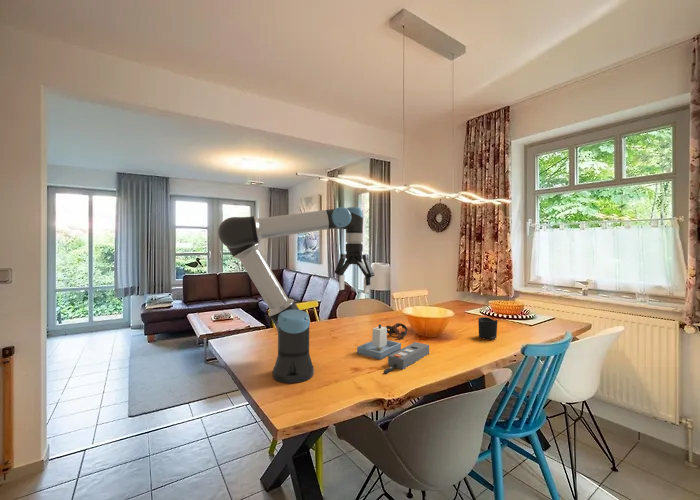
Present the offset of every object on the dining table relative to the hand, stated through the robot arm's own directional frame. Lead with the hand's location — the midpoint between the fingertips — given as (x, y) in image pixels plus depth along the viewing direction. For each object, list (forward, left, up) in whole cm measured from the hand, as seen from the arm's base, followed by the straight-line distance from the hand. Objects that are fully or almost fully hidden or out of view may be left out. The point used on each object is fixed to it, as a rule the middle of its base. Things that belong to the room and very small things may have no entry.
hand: (353, 291), depth 139 cm
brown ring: (+39, +1, -29) cm, 48 cm away
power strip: (+9, -21, -29) cm, 37 cm away
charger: (+13, -6, -28) cm, 31 cm away
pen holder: (+69, -38, -29) cm, 84 cm away
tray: (+13, -6, -29) cm, 32 cm away
